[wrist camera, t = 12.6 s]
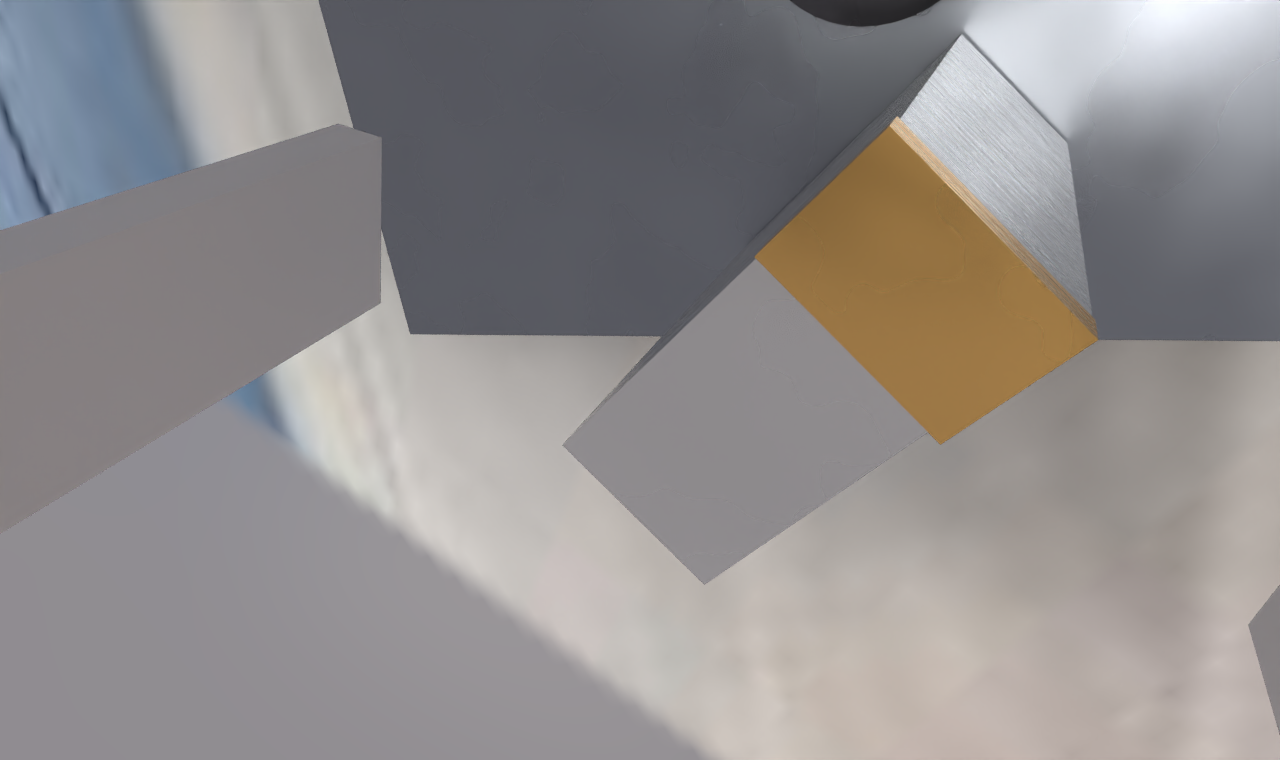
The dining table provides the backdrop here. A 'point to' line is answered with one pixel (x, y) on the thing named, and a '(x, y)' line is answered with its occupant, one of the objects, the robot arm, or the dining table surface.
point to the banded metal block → (856, 322)
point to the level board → (793, 145)
